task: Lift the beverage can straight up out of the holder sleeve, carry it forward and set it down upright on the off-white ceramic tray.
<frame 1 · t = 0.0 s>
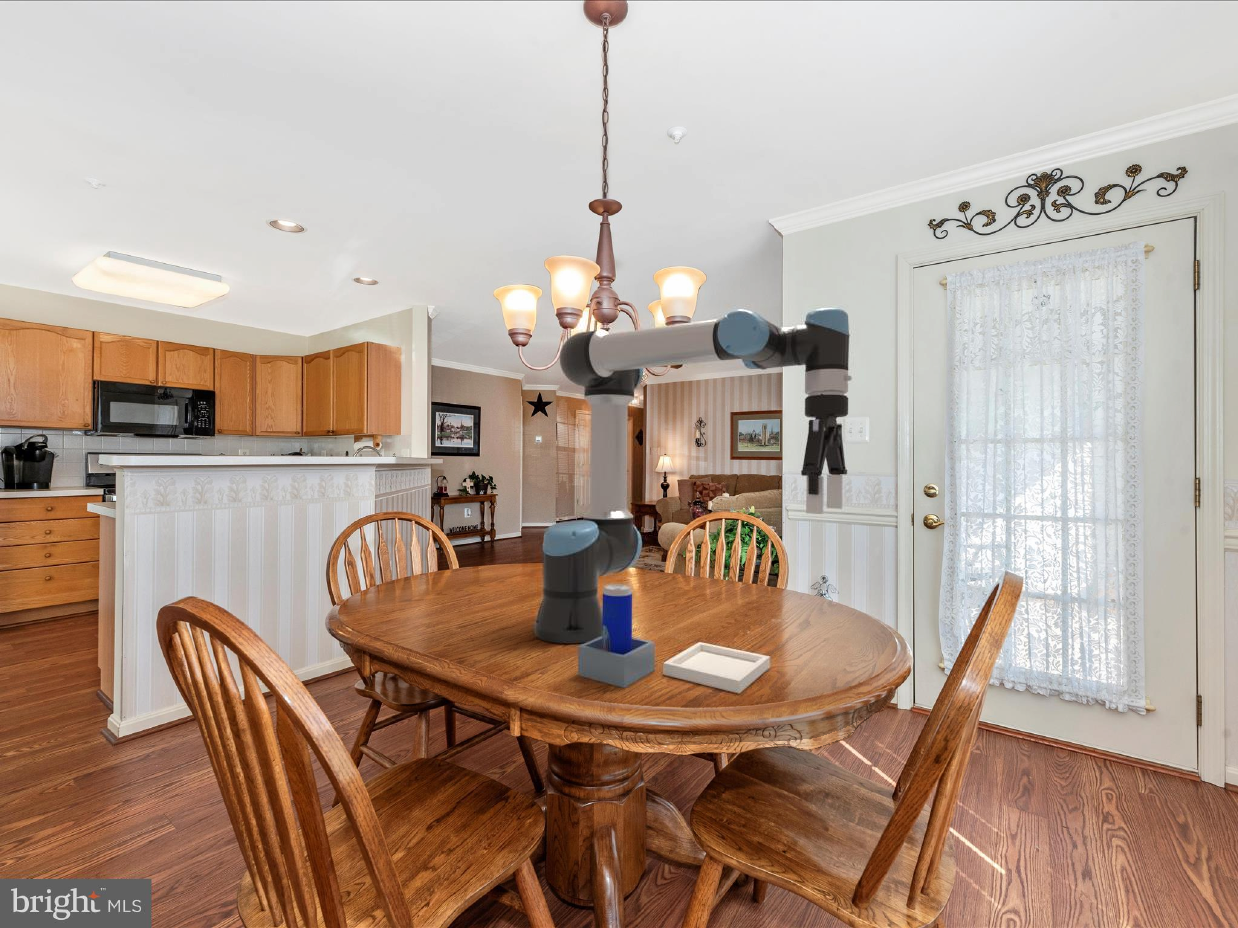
hand: (825, 511, 106), 28 cm above the table, fingers open, 13 cm apart
holder sleeve: (616, 672, 100), on the table
tray: (717, 670, 101), on the table
beverage can: (616, 673, 100), resting in holder sleeve
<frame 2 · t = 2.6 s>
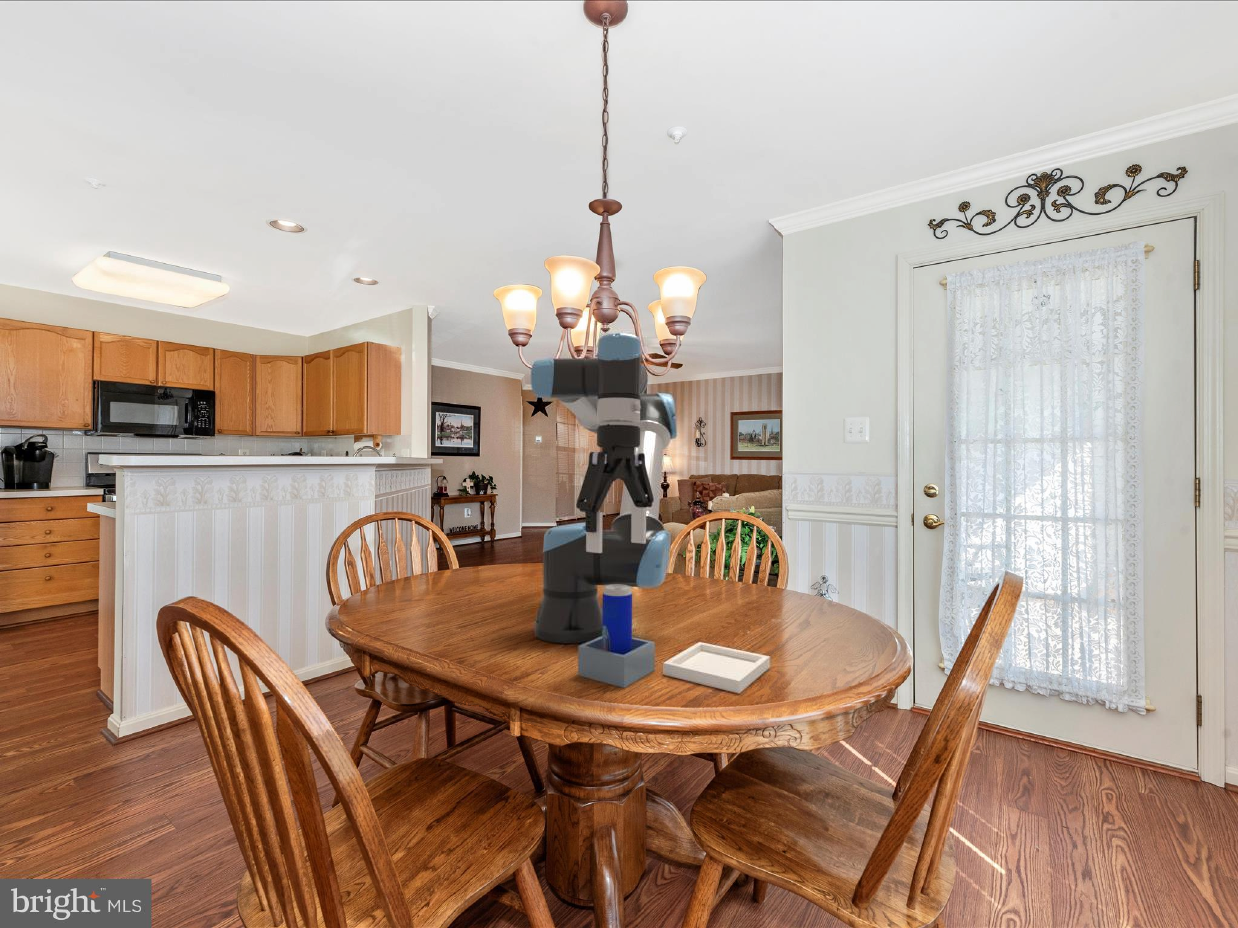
hand: (617, 547, 100), 22 cm above the table, fingers open, 13 cm apart
nothing on the table moved.
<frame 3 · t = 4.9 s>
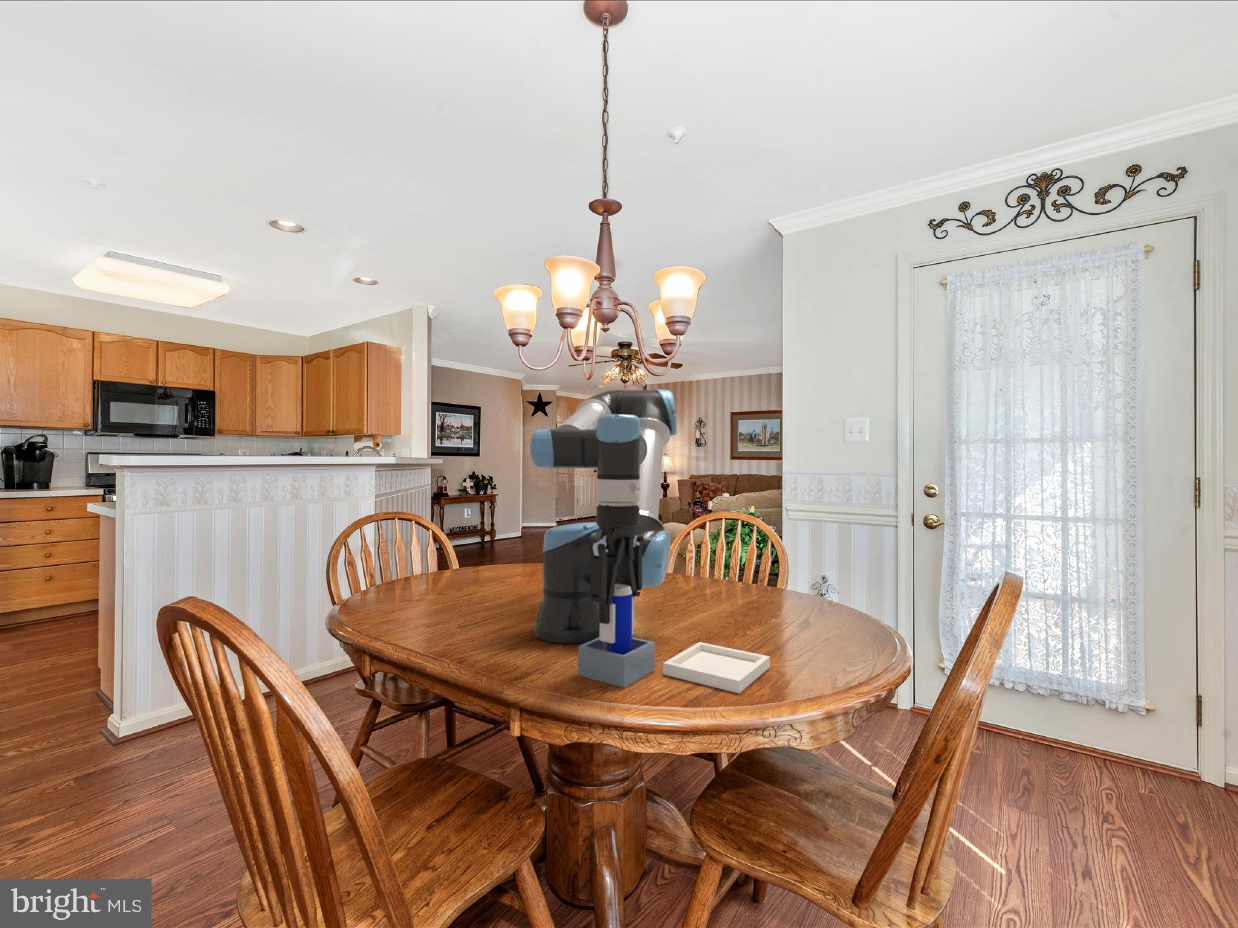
hand: (617, 636, 100), 6 cm above the table, fingers closed on beverage can, 5 cm apart
beverage can: (616, 673, 100), resting in holder sleeve, touching gripper
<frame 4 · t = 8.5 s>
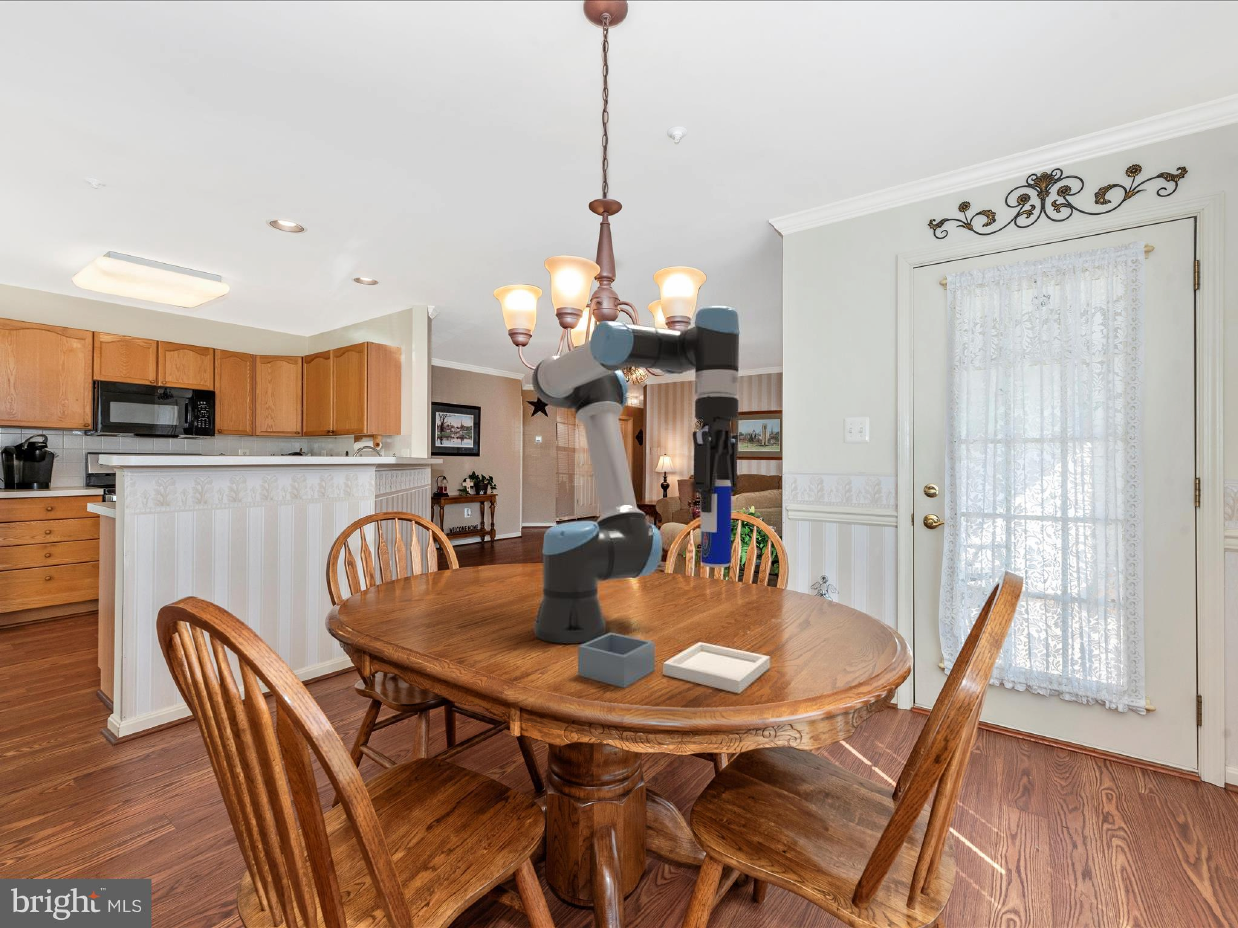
hand: (716, 529, 101), 25 cm above the table, fingers closed on beverage can, 5 cm apart
beverage can: (715, 566, 101), point 19 cm above the table, touching gripper
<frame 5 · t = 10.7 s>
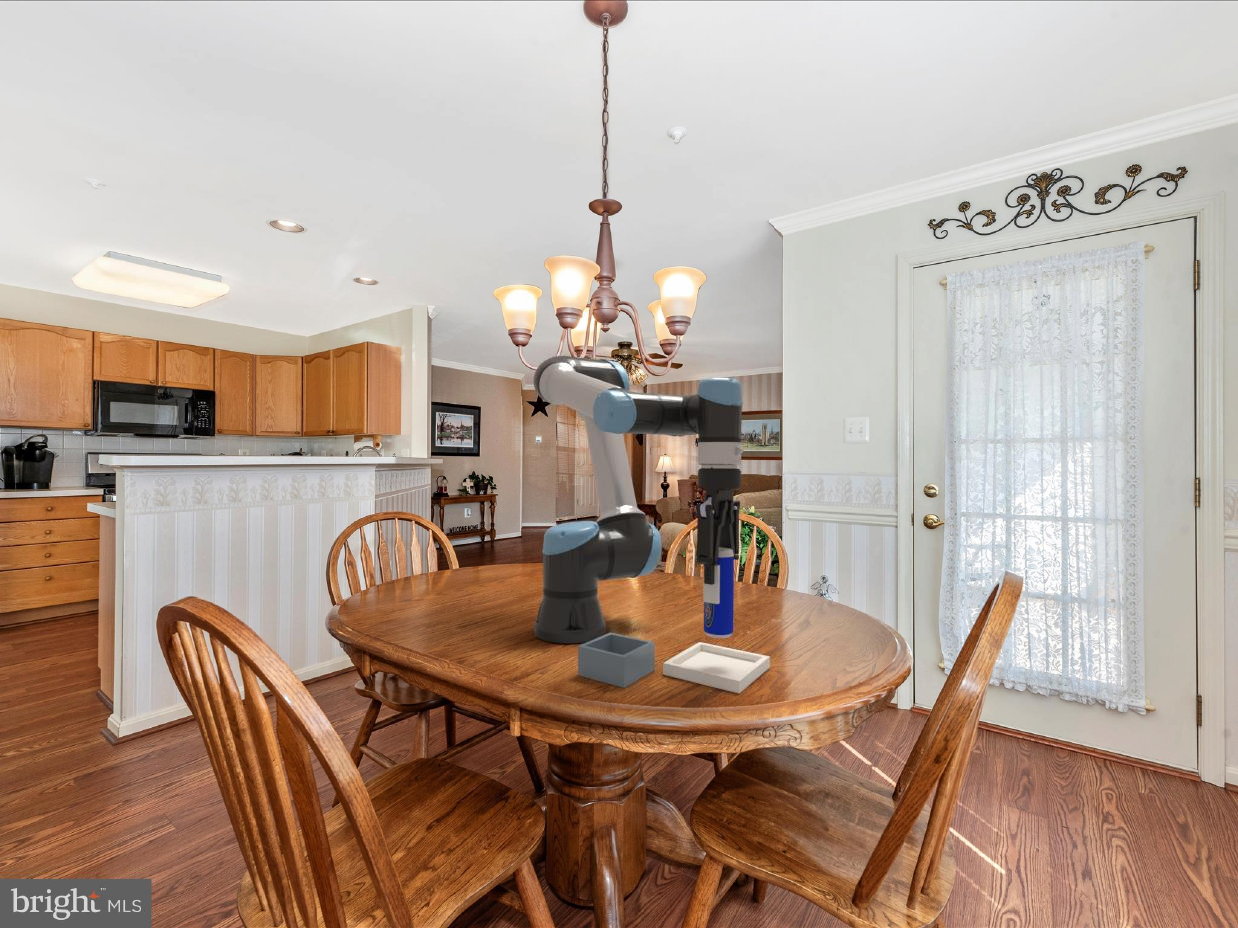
hand: (718, 598, 101), 13 cm above the table, fingers closed on beverage can, 5 cm apart
beverage can: (718, 635, 101), point 6 cm above the table, touching gripper
when the fingers open (8 cm above the table, at t = 12.4 s): beverage can drops 1 cm, resting on tray.
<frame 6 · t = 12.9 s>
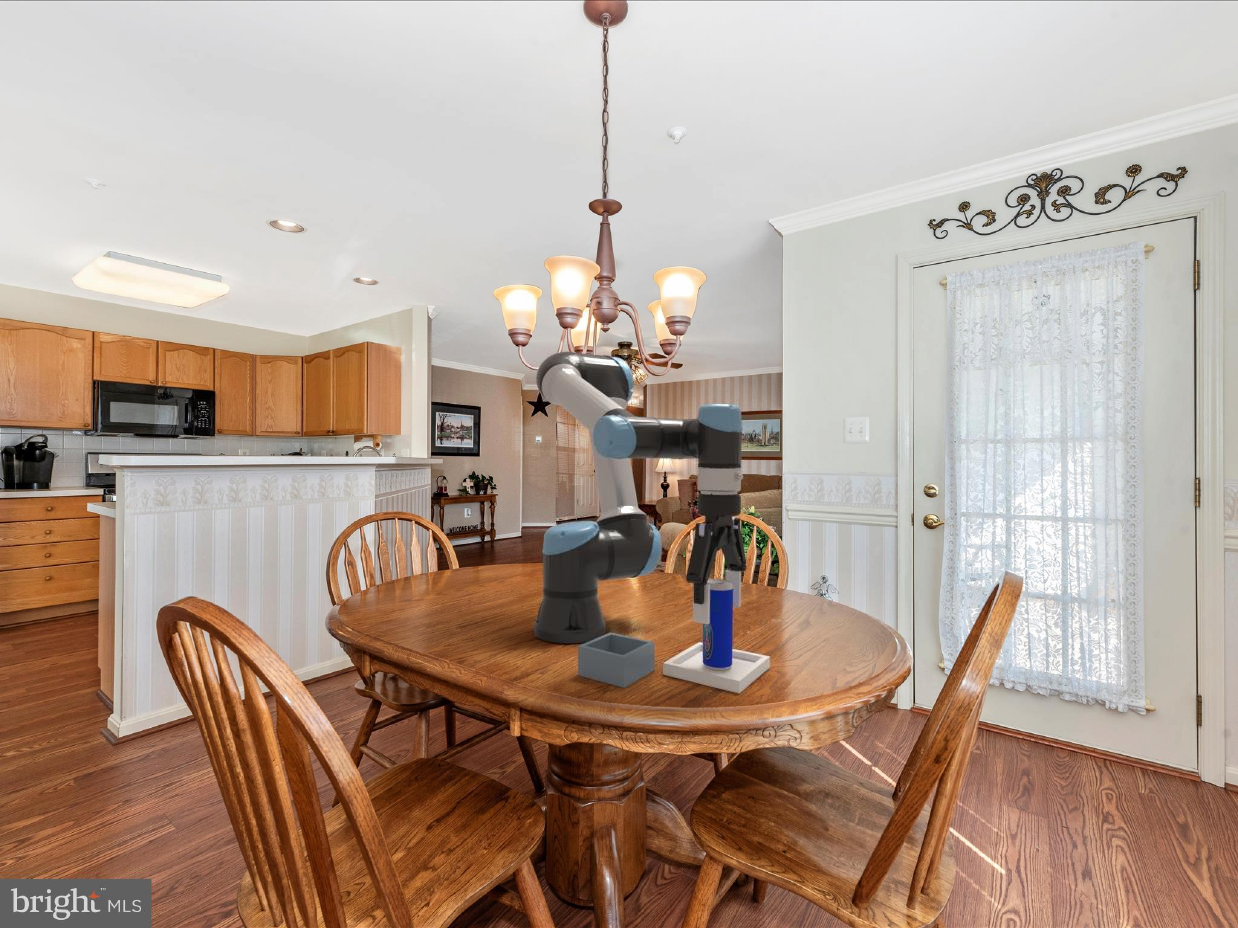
hand: (718, 613, 101), 10 cm above the table, fingers open, 13 cm apart
beverage can: (717, 667, 101), point 1 cm above the table, touching tray
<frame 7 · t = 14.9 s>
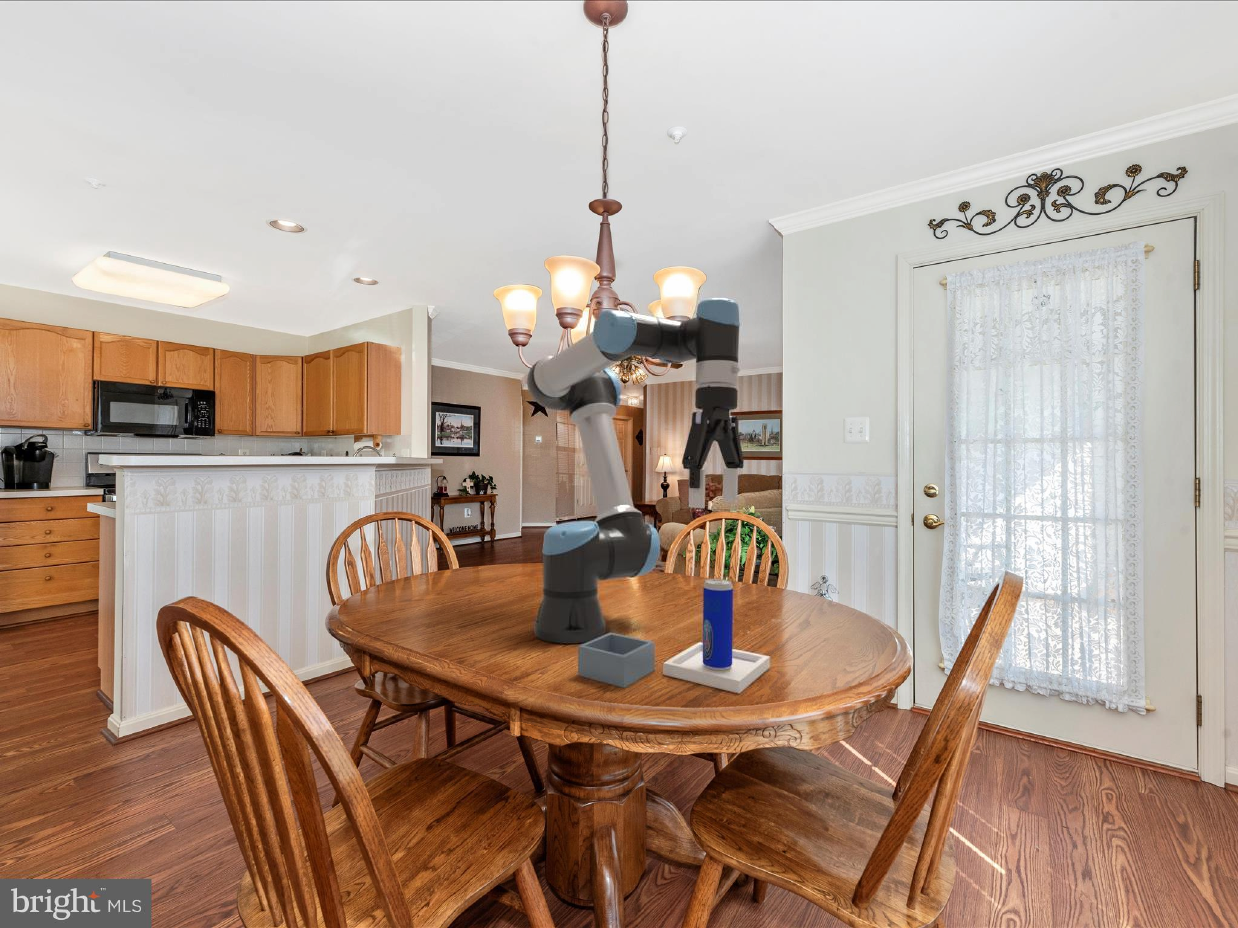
hand: (714, 505, 104), 29 cm above the table, fingers open, 13 cm apart
nothing on the table moved.
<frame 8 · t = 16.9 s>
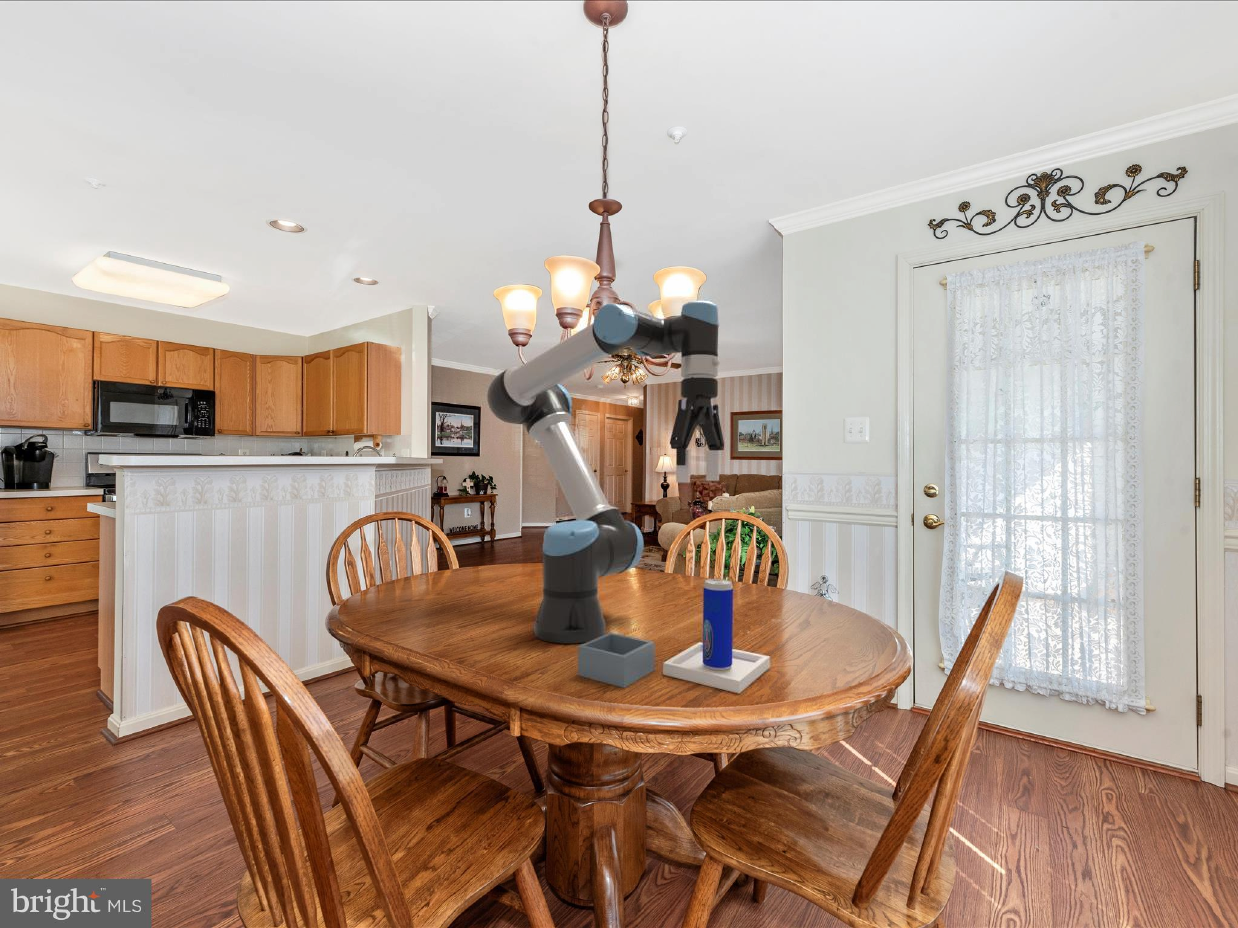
hand: (698, 481, 119), 33 cm above the table, fingers open, 13 cm apart
nothing on the table moved.
at the end: beverage can inside the target area on the tray (0.0 cm from its centre), point 0.6 cm above the tray's base; beverage can tilted 0°; beverage can touching tray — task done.
